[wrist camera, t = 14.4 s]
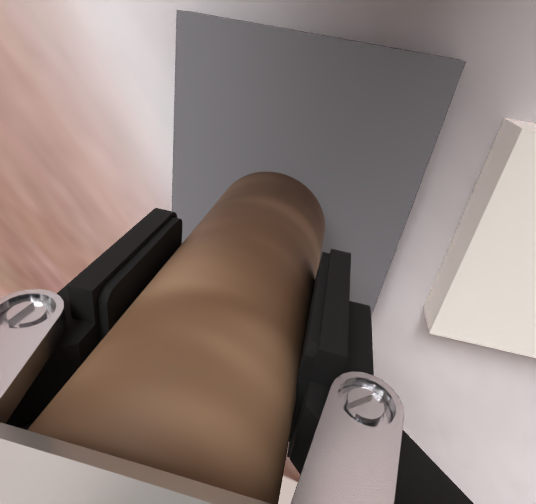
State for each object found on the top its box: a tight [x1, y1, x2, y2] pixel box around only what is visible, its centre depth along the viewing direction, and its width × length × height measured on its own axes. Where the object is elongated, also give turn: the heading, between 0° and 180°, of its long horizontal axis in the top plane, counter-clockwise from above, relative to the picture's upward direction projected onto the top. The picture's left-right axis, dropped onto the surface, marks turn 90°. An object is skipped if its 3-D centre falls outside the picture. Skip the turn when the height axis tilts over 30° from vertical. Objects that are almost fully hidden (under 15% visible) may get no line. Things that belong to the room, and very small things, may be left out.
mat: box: [172, 10, 466, 315], centre depth 17 cm, size 10×12×1 cm
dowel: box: [28, 172, 325, 504], centre depth 8 cm, size 4×4×14 cm
